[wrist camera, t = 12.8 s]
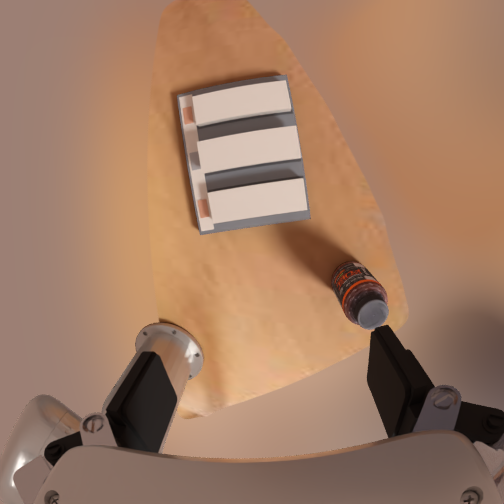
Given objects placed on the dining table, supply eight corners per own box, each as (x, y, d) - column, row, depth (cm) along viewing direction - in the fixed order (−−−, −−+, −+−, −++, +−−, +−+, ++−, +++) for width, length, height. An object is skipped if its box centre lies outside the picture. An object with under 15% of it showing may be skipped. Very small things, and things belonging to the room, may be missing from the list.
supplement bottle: (348, 252, 38) (376, 281, 27) (374, 275, 39) (406, 308, 28) (322, 282, 40) (339, 320, 29) (348, 304, 40) (371, 344, 30)
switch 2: (305, 208, 35) (307, 210, 34) (215, 221, 36) (213, 223, 35) (301, 178, 34) (303, 178, 32) (210, 192, 35) (207, 193, 34)
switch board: (309, 217, 37) (310, 219, 35) (202, 232, 39) (199, 235, 37) (285, 78, 32) (286, 74, 30) (180, 97, 33) (176, 94, 32)
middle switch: (299, 158, 32) (301, 157, 31) (204, 173, 33) (201, 173, 32) (294, 127, 31) (296, 125, 30) (199, 143, 32) (196, 142, 31)
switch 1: (290, 111, 32) (291, 108, 30) (199, 126, 33) (196, 124, 31) (285, 84, 31) (285, 80, 29) (195, 99, 32) (192, 96, 30)
